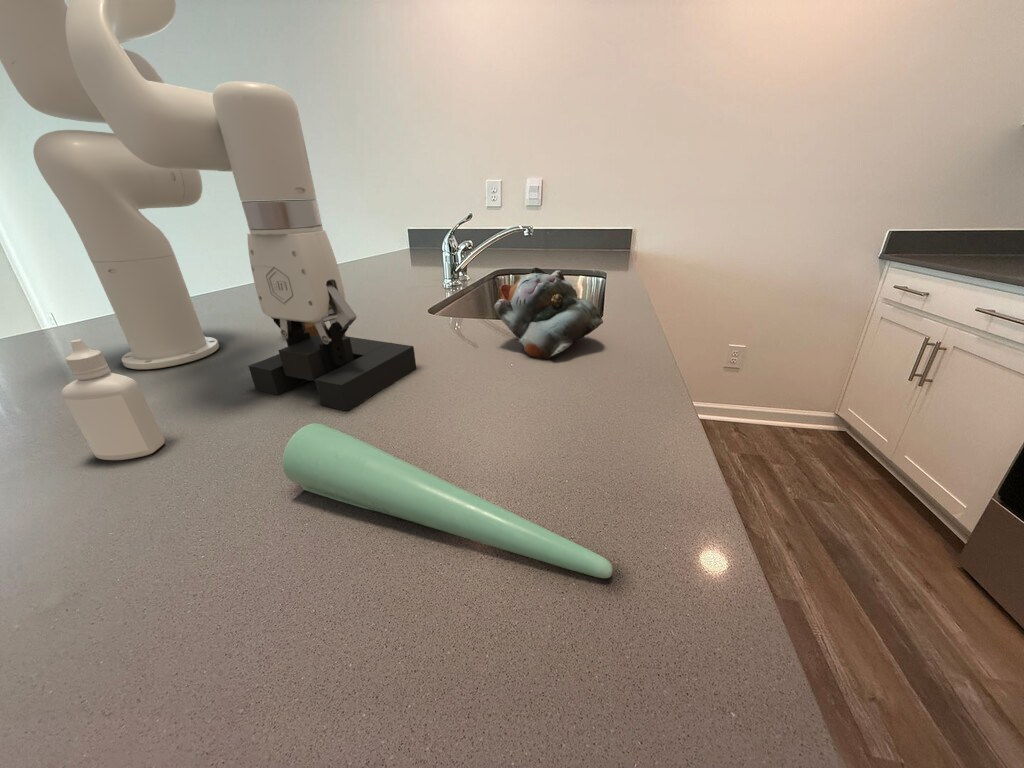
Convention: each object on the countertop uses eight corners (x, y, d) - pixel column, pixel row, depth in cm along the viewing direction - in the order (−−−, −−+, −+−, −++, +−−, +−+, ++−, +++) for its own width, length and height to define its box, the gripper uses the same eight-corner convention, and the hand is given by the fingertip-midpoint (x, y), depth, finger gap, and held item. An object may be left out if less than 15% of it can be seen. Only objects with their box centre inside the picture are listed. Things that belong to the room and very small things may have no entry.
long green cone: (610, 548, 22) (274, 443, 32) (602, 614, 25) (291, 497, 35) (627, 489, 27) (327, 412, 37) (619, 549, 29) (339, 462, 39)
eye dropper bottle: (123, 469, 39) (61, 352, 34) (90, 457, 41) (26, 345, 36) (172, 445, 43) (123, 336, 37) (140, 435, 45) (88, 330, 39)
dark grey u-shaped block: (255, 389, 54) (248, 365, 53) (335, 354, 66) (330, 333, 64) (347, 411, 49) (341, 385, 47) (416, 368, 60) (413, 345, 59)
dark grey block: (285, 375, 52) (277, 350, 50) (327, 356, 58) (322, 333, 56) (314, 381, 50) (307, 354, 48) (354, 361, 56) (349, 337, 54)
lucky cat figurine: (537, 366, 59) (496, 278, 57) (513, 368, 71) (478, 295, 69) (618, 323, 63) (582, 239, 61) (583, 332, 75) (551, 261, 73)
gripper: (202, 220, 46) (251, 368, 54) (313, 220, 40) (349, 388, 47) (262, 216, 52) (298, 349, 60) (366, 216, 46) (391, 365, 54)
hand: (320, 365), depth 54 cm, fingers closed on dark grey block, 4 cm apart
